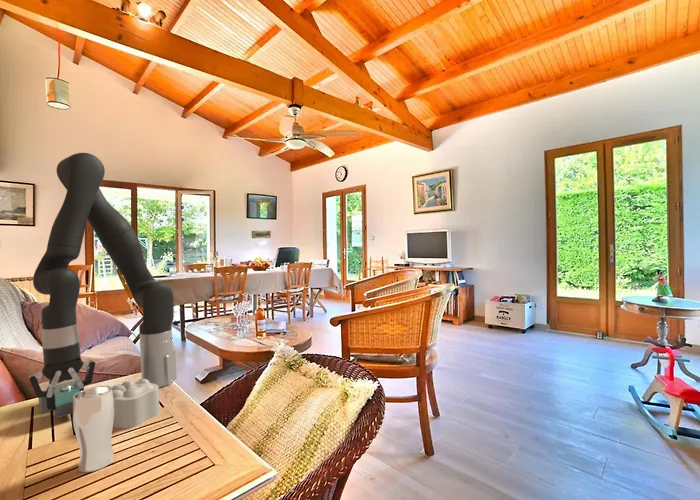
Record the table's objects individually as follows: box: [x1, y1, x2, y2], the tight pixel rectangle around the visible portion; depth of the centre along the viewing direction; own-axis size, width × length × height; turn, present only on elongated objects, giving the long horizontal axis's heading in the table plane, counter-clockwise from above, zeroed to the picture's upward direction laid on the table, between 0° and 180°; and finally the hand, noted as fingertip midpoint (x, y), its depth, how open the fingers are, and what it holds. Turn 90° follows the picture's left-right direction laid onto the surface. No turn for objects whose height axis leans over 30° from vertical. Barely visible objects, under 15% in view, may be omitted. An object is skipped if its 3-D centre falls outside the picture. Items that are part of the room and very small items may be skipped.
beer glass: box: [72, 385, 115, 474], centre depth 72 cm, size 7×7×15 cm
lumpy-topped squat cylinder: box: [111, 378, 160, 430], centre depth 91 cm, size 10×13×9 cm
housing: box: [53, 381, 80, 419], centre depth 92 cm, size 5×8×7 cm, turn 47°
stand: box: [38, 379, 74, 414], centre depth 100 cm, size 8×8×6 cm
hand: (66, 405), depth 92 cm, fingers closed on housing, 5 cm apart
